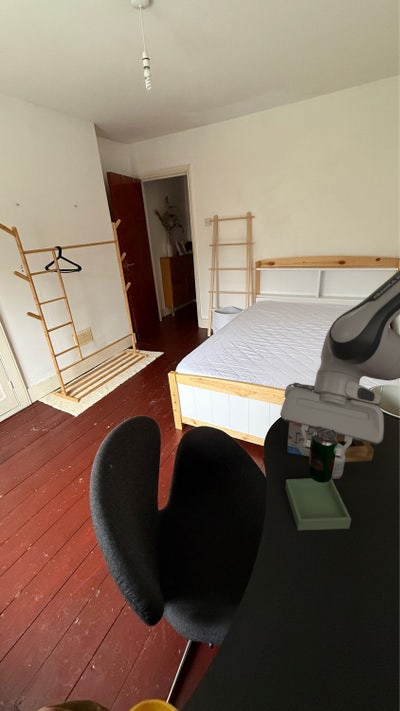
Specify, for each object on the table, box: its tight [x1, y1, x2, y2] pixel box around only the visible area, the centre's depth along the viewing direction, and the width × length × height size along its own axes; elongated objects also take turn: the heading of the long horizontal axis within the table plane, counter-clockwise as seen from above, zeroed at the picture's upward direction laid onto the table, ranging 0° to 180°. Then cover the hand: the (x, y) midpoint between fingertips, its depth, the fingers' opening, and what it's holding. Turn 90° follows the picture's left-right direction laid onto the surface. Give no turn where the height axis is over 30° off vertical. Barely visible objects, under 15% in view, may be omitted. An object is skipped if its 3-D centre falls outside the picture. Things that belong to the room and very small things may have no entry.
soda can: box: [306, 427, 338, 483], centre depth 63 cm, size 5×5×12 cm
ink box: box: [286, 422, 315, 457], centre depth 84 cm, size 9×5×12 cm, turn 71°
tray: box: [284, 477, 352, 531], centre depth 70 cm, size 11×11×3 cm
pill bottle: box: [332, 442, 346, 479], centre depth 77 cm, size 5×5×8 cm
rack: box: [337, 435, 375, 463], centre depth 89 cm, size 10×18×4 cm, turn 179°
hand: (322, 452), depth 62 cm, fingers closed on soda can, 5 cm apart
